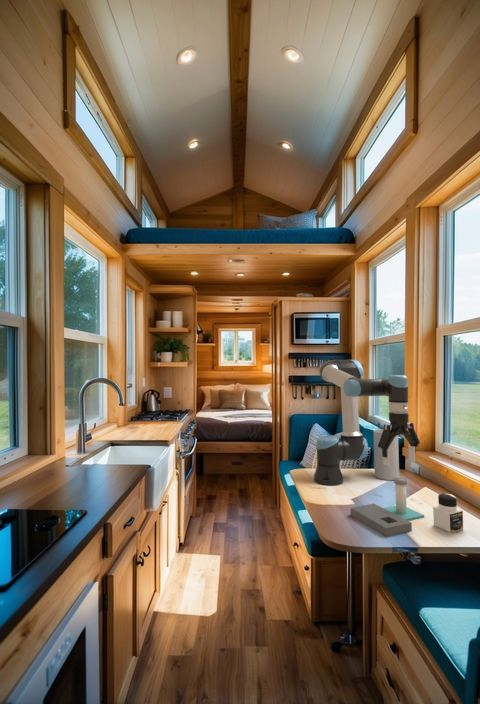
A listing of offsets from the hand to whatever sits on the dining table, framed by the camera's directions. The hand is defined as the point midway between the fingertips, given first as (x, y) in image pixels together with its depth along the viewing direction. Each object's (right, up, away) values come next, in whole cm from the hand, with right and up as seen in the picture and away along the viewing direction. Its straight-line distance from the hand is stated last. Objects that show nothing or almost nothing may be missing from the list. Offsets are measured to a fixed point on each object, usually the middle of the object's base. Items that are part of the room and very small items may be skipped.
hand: (399, 463), depth 149 cm
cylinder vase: (+14, -22, +47) cm, 54 cm away
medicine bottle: (+13, -20, -13) cm, 27 cm away
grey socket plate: (-12, -21, -9) cm, 25 cm away
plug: (0, -20, -1) cm, 20 cm away
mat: (0, -21, -1) cm, 21 cm away
